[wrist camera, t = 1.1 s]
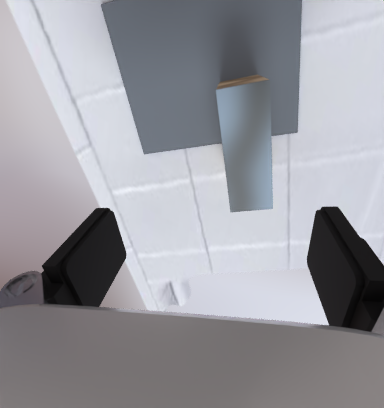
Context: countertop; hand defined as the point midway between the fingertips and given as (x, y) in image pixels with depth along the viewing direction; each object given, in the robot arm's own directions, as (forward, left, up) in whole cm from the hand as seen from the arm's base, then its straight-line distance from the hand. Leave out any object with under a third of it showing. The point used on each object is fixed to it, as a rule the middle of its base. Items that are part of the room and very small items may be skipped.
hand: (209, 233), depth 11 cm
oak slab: (-2, 0, -17) cm, 17 cm away
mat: (+1, -6, -18) cm, 19 cm away
